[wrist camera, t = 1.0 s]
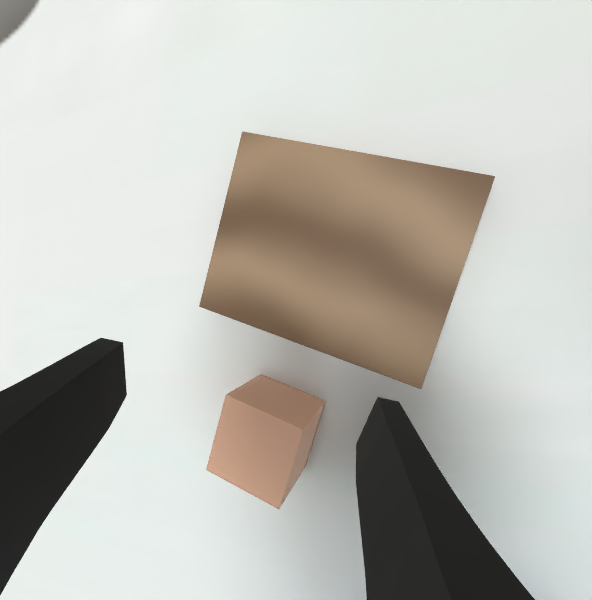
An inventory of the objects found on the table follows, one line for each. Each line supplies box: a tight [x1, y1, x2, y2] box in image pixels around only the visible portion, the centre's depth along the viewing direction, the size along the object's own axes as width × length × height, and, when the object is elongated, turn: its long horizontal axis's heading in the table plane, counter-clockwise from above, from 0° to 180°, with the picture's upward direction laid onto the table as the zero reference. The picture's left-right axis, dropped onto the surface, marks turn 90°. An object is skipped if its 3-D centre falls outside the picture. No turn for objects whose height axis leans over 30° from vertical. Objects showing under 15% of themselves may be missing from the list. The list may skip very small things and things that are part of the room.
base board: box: [199, 132, 495, 389], centre depth 20 cm, size 11×14×2 cm
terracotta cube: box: [206, 375, 325, 509], centre depth 20 cm, size 4×4×4 cm
